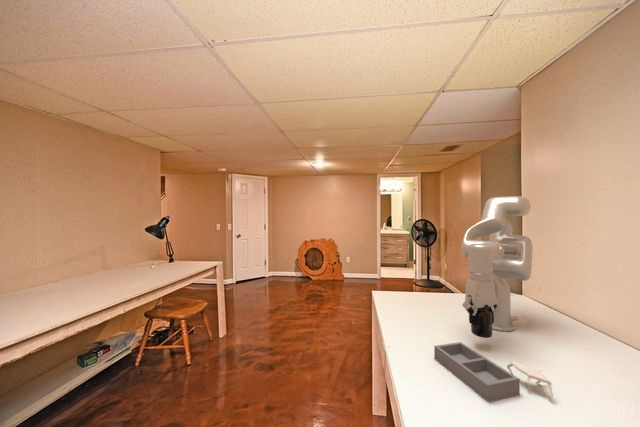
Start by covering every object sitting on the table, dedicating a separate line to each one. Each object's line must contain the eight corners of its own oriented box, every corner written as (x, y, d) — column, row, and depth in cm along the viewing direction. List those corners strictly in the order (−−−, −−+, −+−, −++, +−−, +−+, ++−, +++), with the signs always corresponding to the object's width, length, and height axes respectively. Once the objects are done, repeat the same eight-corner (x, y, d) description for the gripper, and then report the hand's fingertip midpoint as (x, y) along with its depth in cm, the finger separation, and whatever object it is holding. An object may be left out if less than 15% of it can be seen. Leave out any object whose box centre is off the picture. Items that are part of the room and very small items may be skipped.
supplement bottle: (496, 339, 91) (495, 306, 91) (475, 337, 93) (474, 305, 92) (487, 330, 98) (487, 299, 98) (468, 329, 99) (467, 298, 99)
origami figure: (560, 392, 72) (560, 374, 72) (551, 404, 67) (551, 386, 67) (510, 370, 81) (510, 355, 81) (499, 380, 77) (499, 364, 77)
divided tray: (460, 354, 91) (460, 341, 91) (519, 395, 70) (519, 378, 70) (434, 358, 88) (434, 345, 88) (487, 402, 68) (487, 385, 68)
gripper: (490, 271, 101) (491, 315, 101) (453, 276, 96) (454, 321, 97) (508, 276, 93) (509, 324, 94) (469, 281, 89) (470, 331, 90)
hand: (481, 322), depth 95 cm, fingers closed on supplement bottle, 6 cm apart
